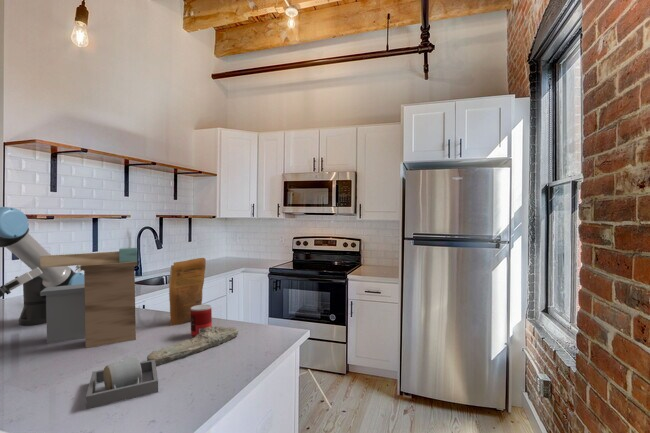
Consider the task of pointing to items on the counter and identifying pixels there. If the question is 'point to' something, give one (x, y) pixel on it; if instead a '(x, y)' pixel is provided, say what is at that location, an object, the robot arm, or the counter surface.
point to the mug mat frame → (121, 388)
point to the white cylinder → (122, 373)
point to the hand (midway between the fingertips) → (35, 272)
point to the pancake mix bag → (185, 289)
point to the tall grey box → (65, 312)
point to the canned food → (200, 318)
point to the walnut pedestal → (109, 303)
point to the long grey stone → (194, 344)
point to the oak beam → (89, 258)
